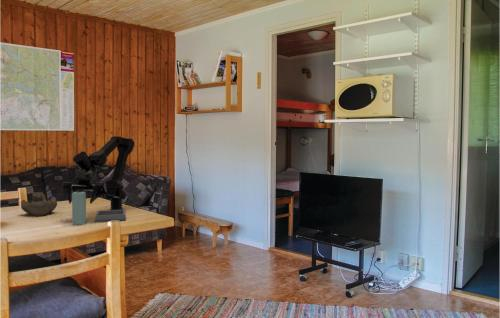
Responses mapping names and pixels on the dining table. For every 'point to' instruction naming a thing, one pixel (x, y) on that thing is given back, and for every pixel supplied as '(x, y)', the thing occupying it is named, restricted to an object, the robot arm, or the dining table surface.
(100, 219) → the tray
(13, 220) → the dining table surface
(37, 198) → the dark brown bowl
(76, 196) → the block
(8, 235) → the dining table surface
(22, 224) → the dining table surface
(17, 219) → the dining table surface
